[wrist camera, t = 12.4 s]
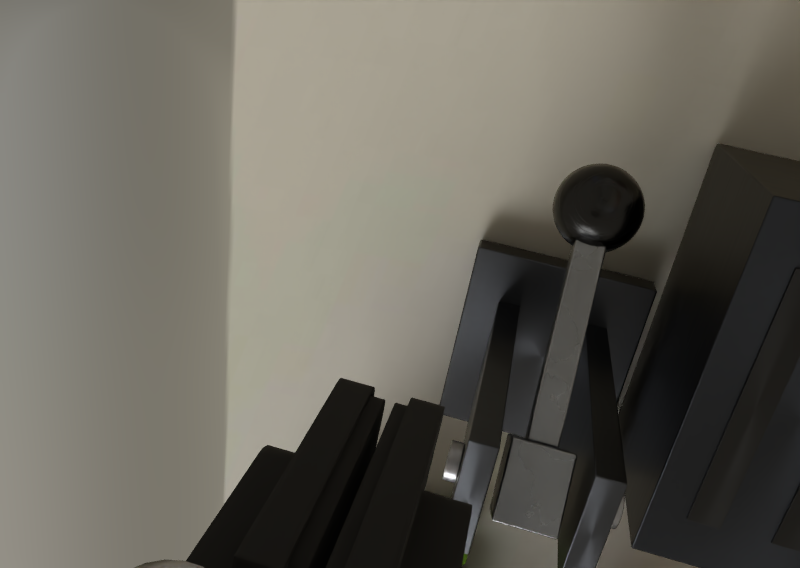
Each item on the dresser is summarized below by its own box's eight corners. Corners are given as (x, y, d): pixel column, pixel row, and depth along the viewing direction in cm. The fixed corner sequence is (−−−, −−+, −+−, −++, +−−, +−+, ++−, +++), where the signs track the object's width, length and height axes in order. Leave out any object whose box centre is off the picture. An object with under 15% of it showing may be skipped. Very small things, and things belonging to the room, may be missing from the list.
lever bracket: (481, 238, 34) (436, 363, 22) (654, 281, 33) (704, 436, 21) (441, 401, 37) (384, 584, 26) (596, 444, 36) (611, 654, 25)
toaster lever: (558, 170, 28) (571, 141, 25) (641, 189, 28) (664, 162, 25) (474, 504, 27) (476, 518, 23) (561, 529, 26) (575, 547, 23)
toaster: (716, 142, 30) (774, 196, 22) (892, 181, 29) (1022, 252, 21) (615, 422, 36) (630, 550, 27) (761, 462, 35) (823, 606, 26)
